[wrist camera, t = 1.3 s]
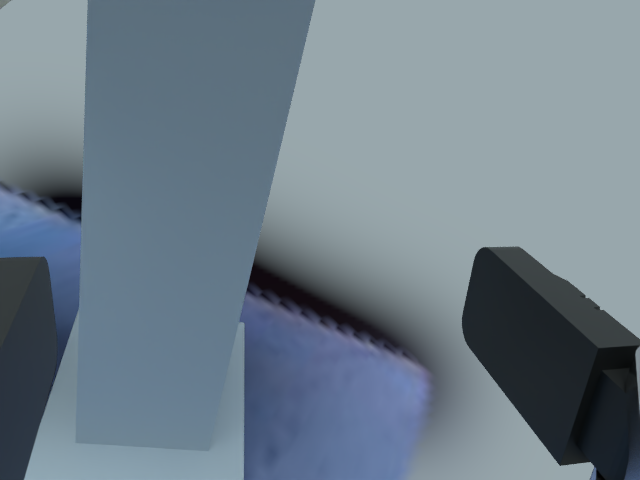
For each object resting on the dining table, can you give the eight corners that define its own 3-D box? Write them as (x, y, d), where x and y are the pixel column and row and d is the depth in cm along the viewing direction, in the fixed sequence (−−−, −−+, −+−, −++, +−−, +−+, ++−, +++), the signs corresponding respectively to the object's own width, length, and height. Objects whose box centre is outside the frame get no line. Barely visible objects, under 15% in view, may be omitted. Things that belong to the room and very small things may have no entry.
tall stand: (237, 533, 32) (467, -176, 14) (15, 526, 29) (-51, -347, 11) (239, 342, 43) (368, -184, 25) (79, 326, 40) (97, -271, 23)
